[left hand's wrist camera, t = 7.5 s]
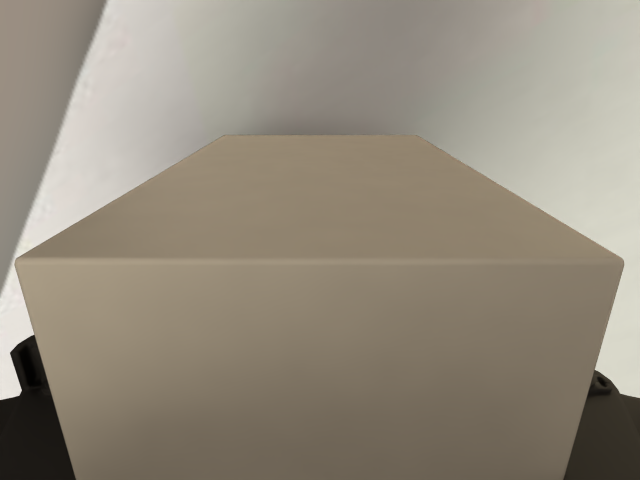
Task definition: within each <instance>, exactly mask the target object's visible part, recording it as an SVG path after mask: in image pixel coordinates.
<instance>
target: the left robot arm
mask: <svg viewBox="0 0 640 480" xmlns="http://www.w3.org/2000/svg"><path fill="white" fill-rule="evenodd" d="M10 355H11V358H12V361H13V364H14V367H15V370H16V373H17V376H18V380H19V383H20V386H21V389H22V392H21V394H20V396H17V397H13V398H8V399H3V400H0V480H76V478H75V474H74V471H73V467H72V464H71V460H70V457H69V453H68V450H67V446H66V443H65V439H64V436H63V432H62V429H61V425H60V422H59V418H58V415H57V411H56V408H55V404H54V401H53V397H52V394H51V390H50V387H49V383H48V380H47V376H46V373H45V369H44V366H43V362H42V359H41V355H40V352H39V348H38V345H37V341H36V338H35V335H33V336H30V337H29V338H27V339H26V340H24V341H22V342H21V343H19V344H18V345H17V346H16V347H15V348H14V349H13V350H12V351H11V352H10ZM563 480H640V398H636V397H631V396H627V395H623V394H620V393H619V391H618V389H617V388H616V387H615V385H614V384H613V383H612V381H611V380H609V379H608V378H607V377H605V376H604V375H603V374H601V373H600V372H598V371H596V370H594V373H593V377H592V380H591V384H590V387H589V391H588V394H587V398H586V401H585V405H584V408H583V412H582V415H581V419H580V422H579V426H578V430H577V433H576V437H575V440H574V444H573V447H572V451H571V454H570V458H569V461H568V465H567V468H566V472H565V475H564V479H563Z"/></svg>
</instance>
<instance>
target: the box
mask: <svg viewBox="0 0 640 480" xmlns="http://www.w3.org/2000/svg"><path fill="white" fill-rule="evenodd" d="M15 268H16V272H17V275H18V279H19V282H20V286H21V289H22V293H23V296H24V299H25V303H26V306H27V310H28V313H29V317H30V320H31V324H32V327H33V331H34V334H35V338H36V341H37V345H38V348H39V352H40V355H41V359H42V362H43V366H44V369H45V373H46V376H47V380H48V383H49V387H50V390H51V394H52V397H53V401H54V404H55V408H56V411H57V415H58V418H59V422H60V425H61V429H62V432H63V436H64V439H65V443H66V446H67V450H68V453H69V457H70V460H71V464H72V467H73V471H74V474H75V478H76V480H563V479H564V475H565V472H566V468H567V465H568V461H569V458H570V454H571V451H572V447H573V444H574V440H575V437H576V433H577V430H578V426H579V422H580V419H581V415H582V412H583V408H584V405H585V401H586V398H587V394H588V391H589V387H590V384H591V380H592V377H593V373H594V370H595V366H596V363H597V359H598V356H599V352H600V349H601V345H602V341H603V338H604V334H605V331H606V327H607V324H608V320H609V317H610V313H611V310H612V306H613V303H614V299H615V296H616V292H617V289H618V285H619V282H620V278H621V275H622V271H623V268H624V260H623V259H622V258H621V257H619V256H617V255H616V254H614V253H612V252H611V251H609V250H607V249H606V248H604V247H602V246H601V245H599V244H597V243H596V242H594V241H592V240H591V239H589V238H587V237H586V236H584V235H582V234H581V233H579V232H577V231H576V230H574V229H572V228H571V227H569V226H567V225H566V224H564V223H562V222H561V221H559V220H557V219H556V218H554V217H552V216H551V215H549V214H547V213H546V212H544V211H542V210H541V209H539V208H537V207H536V206H534V205H532V204H531V203H529V202H527V201H526V200H524V199H522V198H521V197H519V196H517V195H516V194H514V193H512V192H511V191H509V190H507V189H506V188H504V187H502V186H501V185H499V184H497V183H496V182H494V181H492V180H491V179H489V178H487V177H486V176H484V175H482V174H481V173H479V172H477V171H476V170H474V169H472V168H471V167H469V166H467V165H466V164H464V163H462V162H461V161H459V160H457V159H456V158H454V157H452V156H451V155H449V154H447V153H446V152H444V151H442V150H441V149H439V148H437V147H436V146H434V145H432V144H431V143H429V142H427V141H426V140H424V139H422V138H421V137H419V136H417V135H224V136H222V137H220V138H219V139H217V140H215V141H214V142H212V143H210V144H208V145H207V146H205V147H203V148H202V149H200V150H198V151H197V152H195V153H193V154H192V155H190V156H188V157H187V158H185V159H183V160H181V161H180V162H178V163H176V164H175V165H173V166H171V167H170V168H168V169H166V170H165V171H163V172H161V173H160V174H158V175H156V176H154V177H153V178H151V179H149V180H148V181H146V182H144V183H143V184H141V185H139V186H138V187H136V188H134V189H133V190H131V191H129V192H128V193H126V194H124V195H122V196H121V197H119V198H117V199H116V200H114V201H112V202H111V203H109V204H107V205H106V206H104V207H102V208H101V209H99V210H97V211H95V212H94V213H92V214H90V215H89V216H87V217H85V218H84V219H82V220H80V221H79V222H77V223H75V224H74V225H72V226H70V227H69V228H67V229H65V230H63V231H62V232H60V233H58V234H57V235H55V236H53V237H52V238H50V239H48V240H47V241H45V242H43V243H42V244H40V245H38V246H36V247H35V248H33V249H31V250H30V251H28V252H26V253H25V254H23V255H21V256H20V257H18V258H16V260H15Z"/></svg>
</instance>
